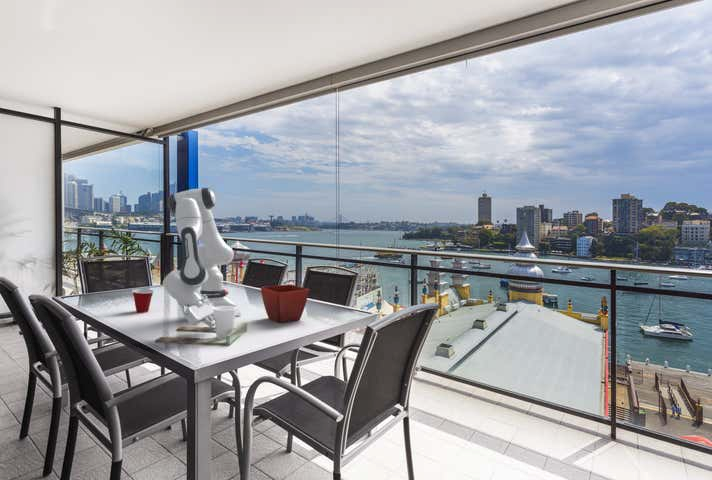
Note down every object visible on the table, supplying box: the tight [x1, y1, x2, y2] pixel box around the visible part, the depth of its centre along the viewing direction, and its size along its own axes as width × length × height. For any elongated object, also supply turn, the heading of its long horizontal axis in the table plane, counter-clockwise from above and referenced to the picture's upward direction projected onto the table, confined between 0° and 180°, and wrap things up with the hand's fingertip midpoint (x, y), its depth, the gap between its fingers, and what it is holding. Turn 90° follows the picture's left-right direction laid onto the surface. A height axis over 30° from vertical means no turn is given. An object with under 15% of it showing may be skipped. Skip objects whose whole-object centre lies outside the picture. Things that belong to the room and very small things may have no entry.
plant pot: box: [260, 284, 310, 324], centre depth 201 cm, size 19×19×17 cm
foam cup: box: [214, 306, 236, 339], centre depth 165 cm, size 10×9×13 cm
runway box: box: [154, 321, 248, 346], centre depth 166 cm, size 32×22×4 cm
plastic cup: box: [131, 288, 155, 314], centre depth 207 cm, size 11×11×12 cm
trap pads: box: [182, 326, 216, 342], centre depth 166 cm, size 6×22×1 cm, turn 178°
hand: (213, 325), depth 166 cm, fingers closed, pressing on foam cup
